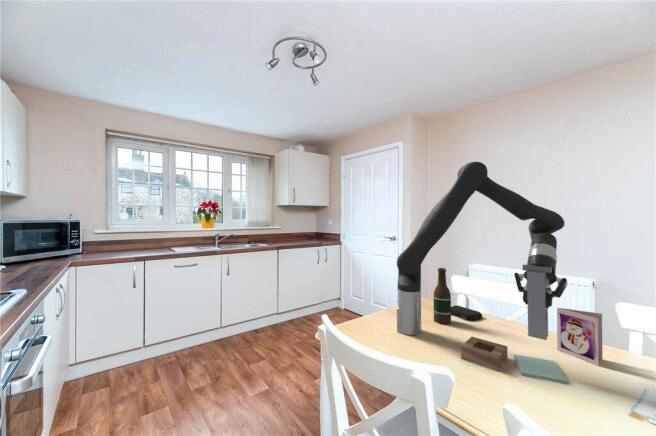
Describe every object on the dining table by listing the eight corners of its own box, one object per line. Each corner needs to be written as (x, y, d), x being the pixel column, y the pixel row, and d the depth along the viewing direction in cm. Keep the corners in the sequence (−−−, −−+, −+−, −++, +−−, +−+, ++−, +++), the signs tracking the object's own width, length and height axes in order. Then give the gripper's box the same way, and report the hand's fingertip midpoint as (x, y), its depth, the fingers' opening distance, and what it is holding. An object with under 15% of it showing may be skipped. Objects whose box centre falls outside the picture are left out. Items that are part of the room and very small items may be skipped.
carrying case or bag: (442, 313, 135) (470, 323, 123) (442, 307, 135) (470, 316, 123) (455, 309, 141) (484, 318, 128) (455, 303, 141) (484, 312, 128)
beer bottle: (454, 324, 120) (454, 270, 120) (437, 324, 120) (436, 270, 120) (447, 318, 128) (446, 266, 128) (430, 318, 128) (430, 266, 128)
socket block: (471, 347, 99) (471, 336, 99) (507, 358, 91) (507, 346, 91) (460, 358, 91) (460, 346, 91) (498, 371, 83) (498, 358, 83)
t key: (525, 330, 89) (524, 263, 89) (553, 336, 84) (552, 266, 84) (523, 334, 86) (521, 265, 86) (551, 341, 81) (550, 268, 81)
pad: (521, 374, 81) (521, 372, 81) (513, 356, 92) (513, 354, 92) (568, 384, 77) (568, 381, 77) (554, 363, 88) (554, 360, 88)
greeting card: (555, 350, 96) (555, 307, 96) (569, 346, 99) (568, 305, 99) (596, 366, 86) (596, 318, 86) (610, 362, 88) (610, 315, 88)
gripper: (514, 251, 95) (506, 293, 86) (569, 255, 85) (566, 303, 76) (518, 265, 99) (511, 306, 90) (570, 269, 89) (568, 317, 80)
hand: (536, 304), depth 83 cm, fingers closed on t key, 4 cm apart
